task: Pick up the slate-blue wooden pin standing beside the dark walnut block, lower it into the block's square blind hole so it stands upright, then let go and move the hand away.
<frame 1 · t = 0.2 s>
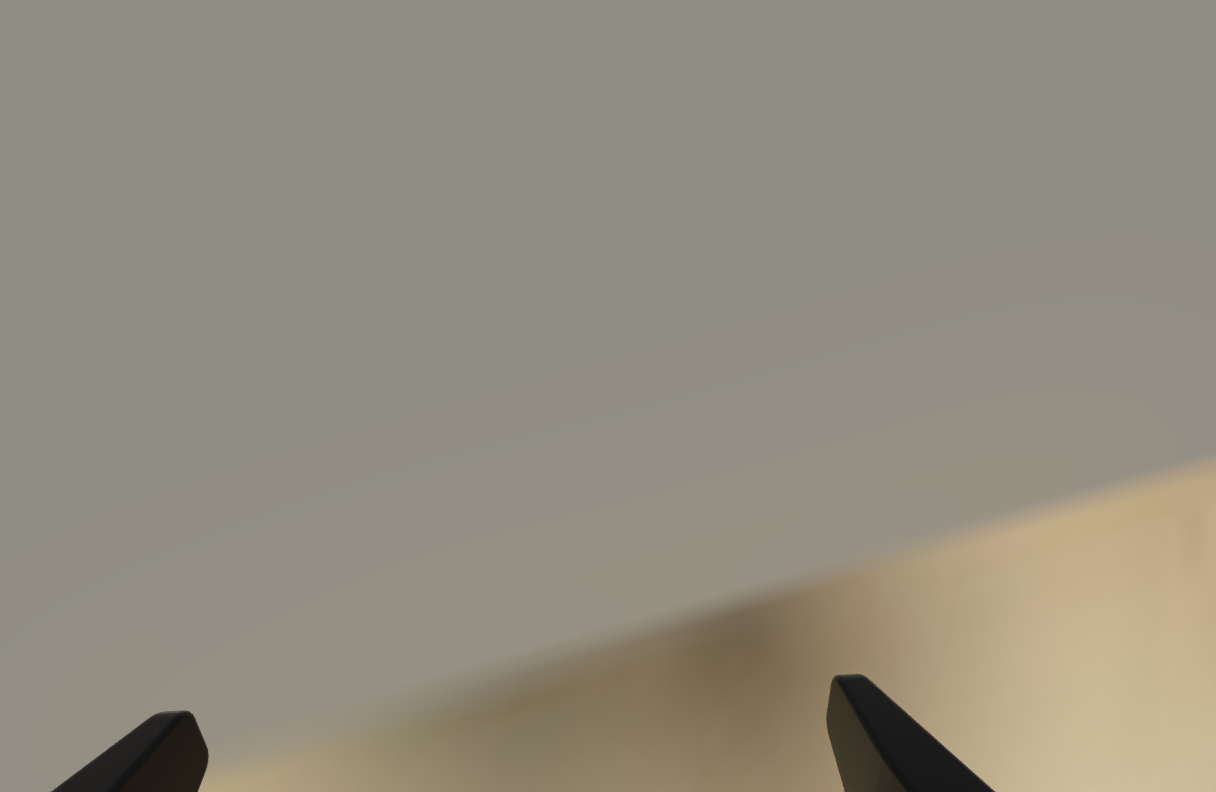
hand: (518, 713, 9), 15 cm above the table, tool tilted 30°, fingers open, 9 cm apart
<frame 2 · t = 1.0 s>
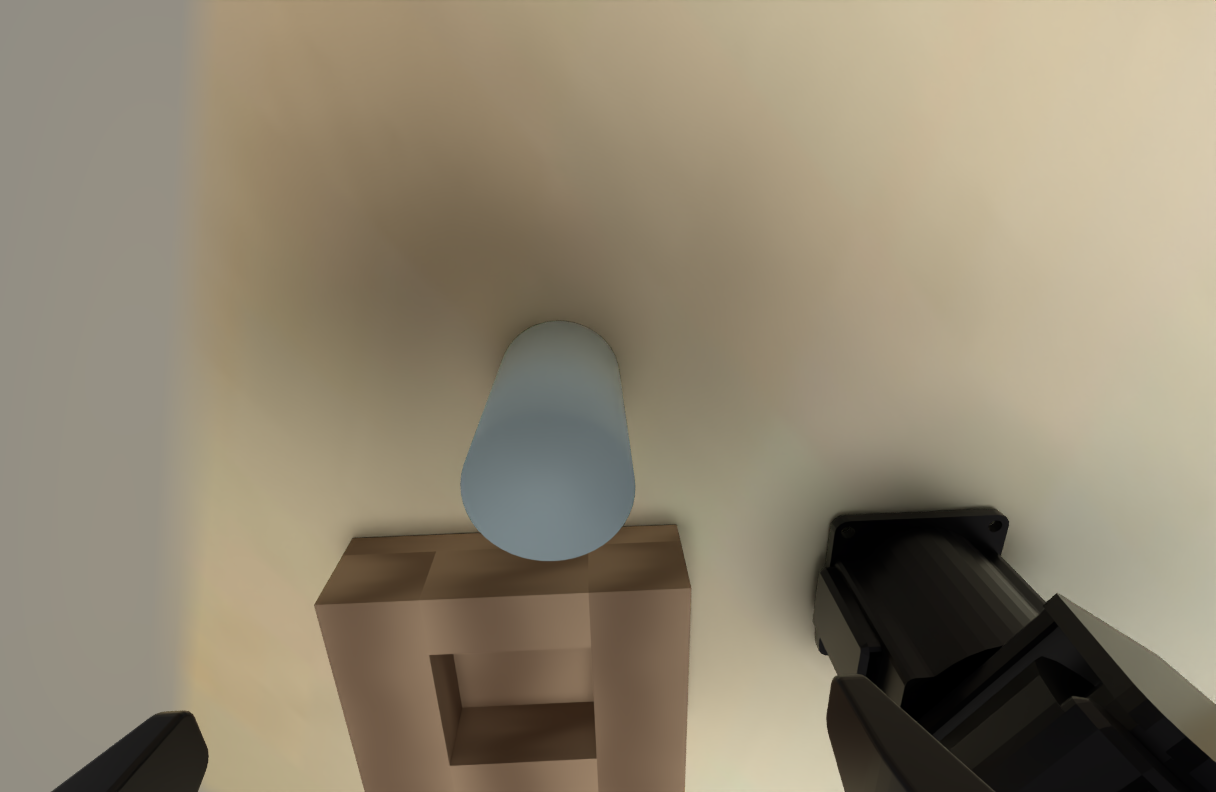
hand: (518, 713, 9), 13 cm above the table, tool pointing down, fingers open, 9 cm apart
socket block: (525, 634, 25), on the table
pin: (559, 378, 21), on the table
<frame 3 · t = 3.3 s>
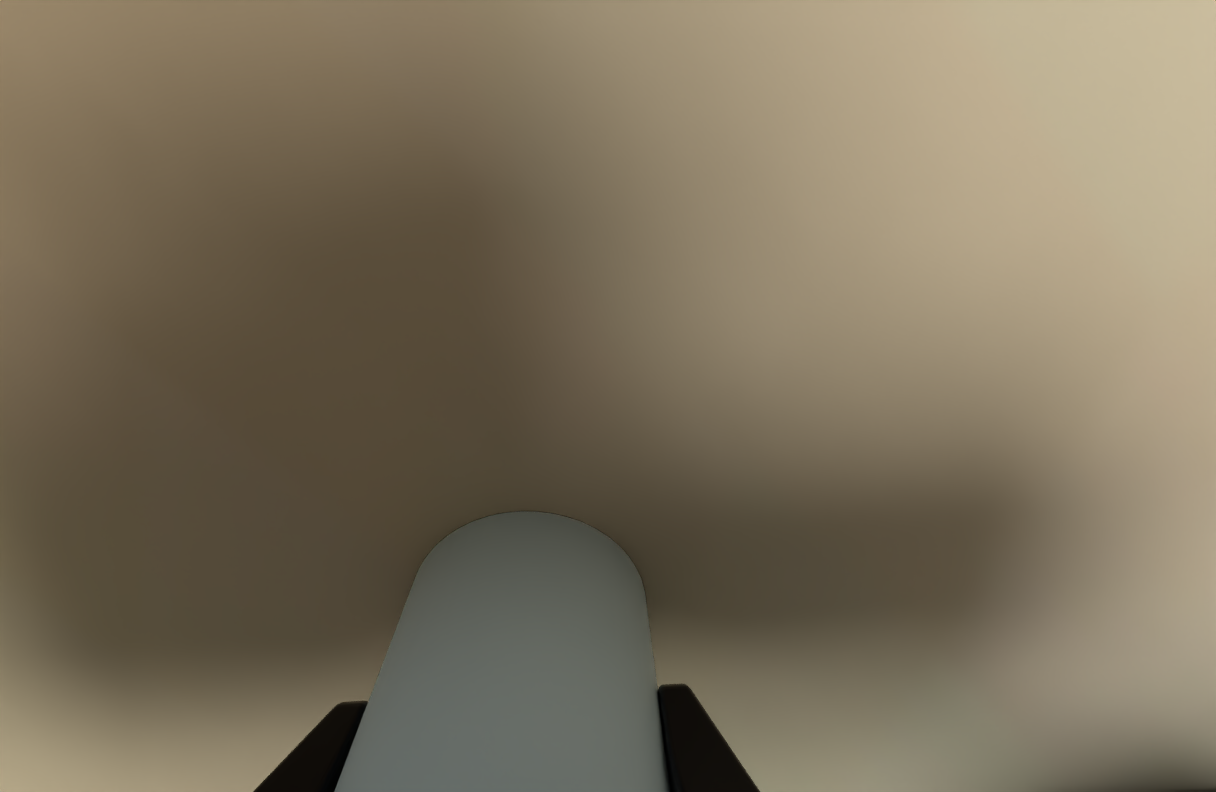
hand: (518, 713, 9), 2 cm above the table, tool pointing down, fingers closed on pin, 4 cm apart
pin: (529, 609, 11), on the table, touching gripper
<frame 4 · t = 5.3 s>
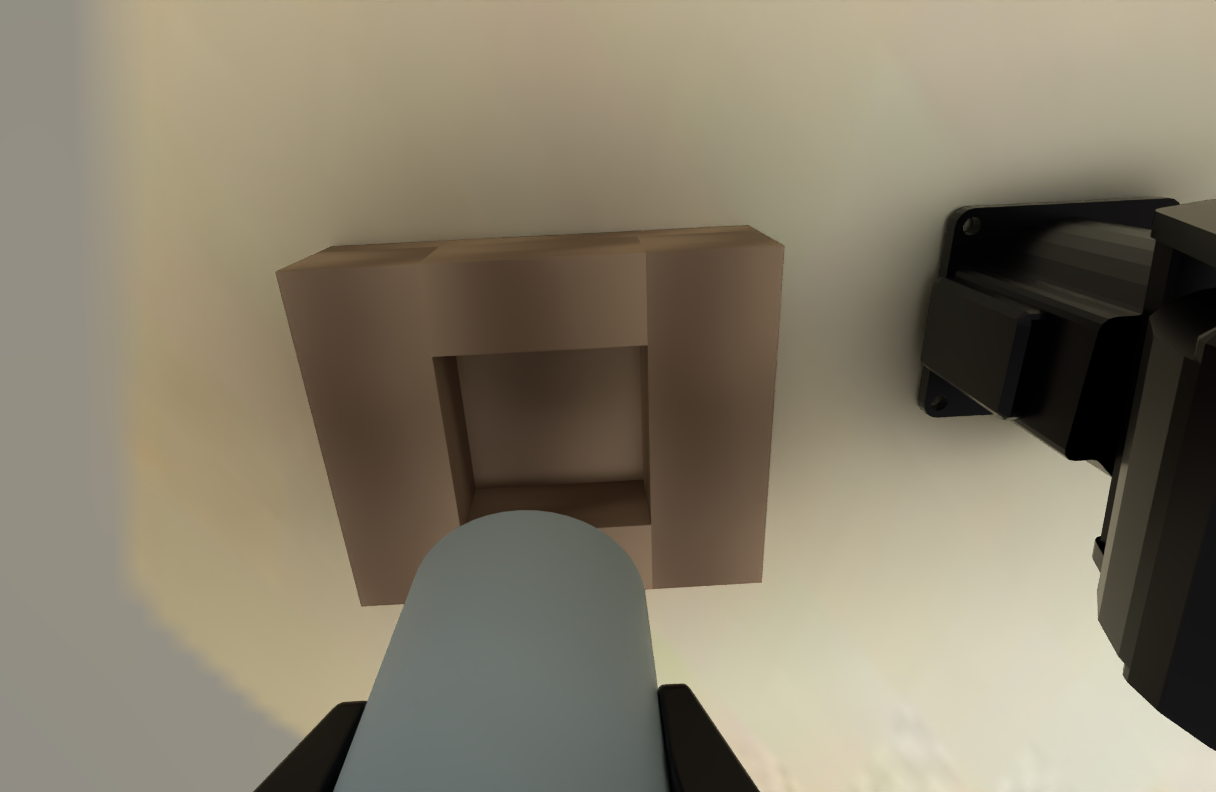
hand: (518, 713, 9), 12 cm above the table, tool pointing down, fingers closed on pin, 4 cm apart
socket block: (554, 395, 20), on the table
pin: (529, 608, 11), point 10 cm above the table, touching gripper
when the fingers open (4 cm above the table, at t = 7.4 s): pin stays where it is, resting on socket block.
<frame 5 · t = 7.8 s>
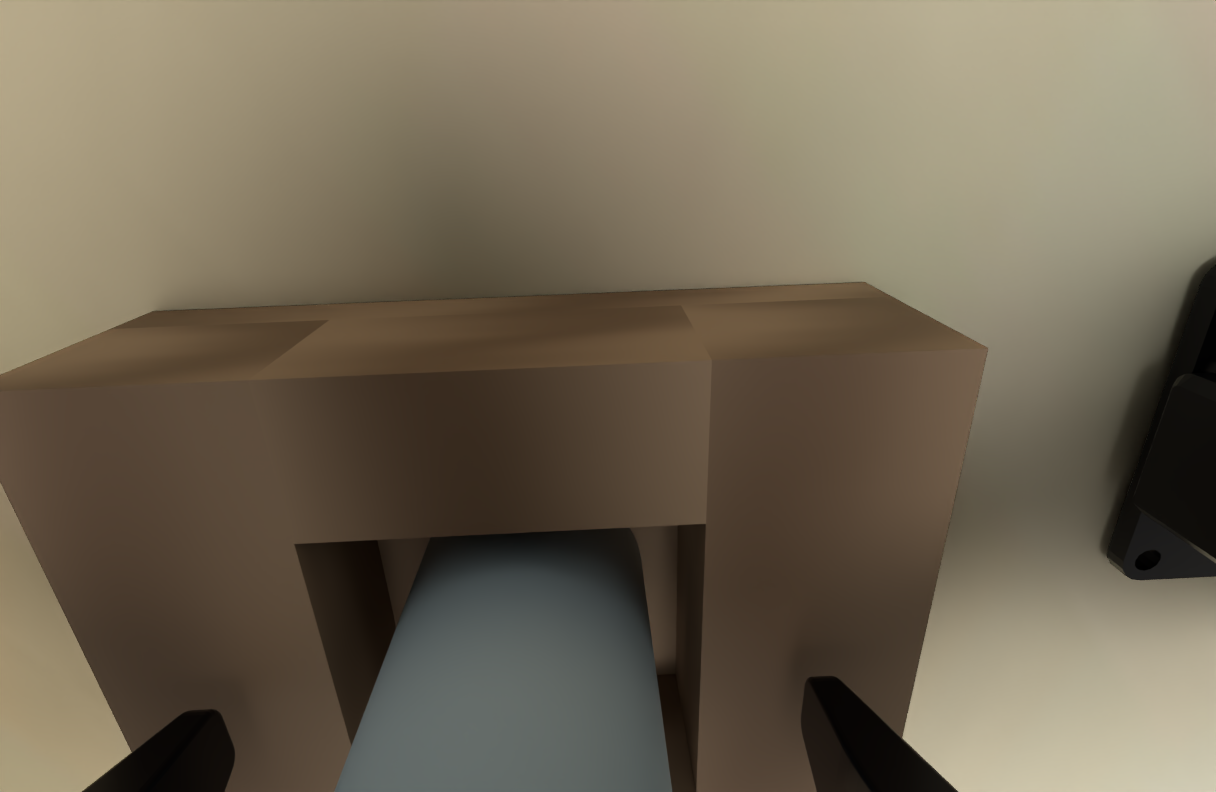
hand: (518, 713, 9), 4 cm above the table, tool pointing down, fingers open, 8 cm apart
socket block: (536, 541, 12), on the table
pin: (534, 572, 11), point 1 cm above the table, touching socket block
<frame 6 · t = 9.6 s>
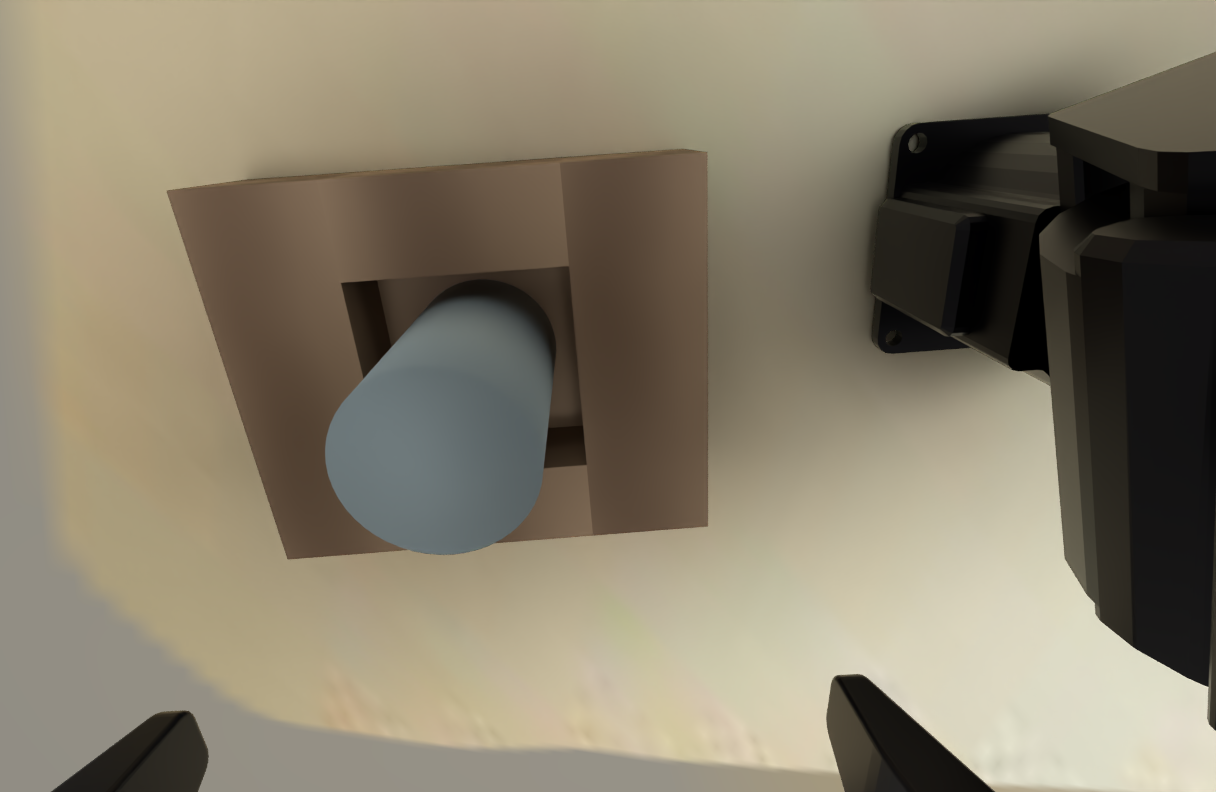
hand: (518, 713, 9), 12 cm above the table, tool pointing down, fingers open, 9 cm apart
socket block: (490, 338, 19), on the table
pin: (487, 347, 18), point 1 cm above the table, touching socket block
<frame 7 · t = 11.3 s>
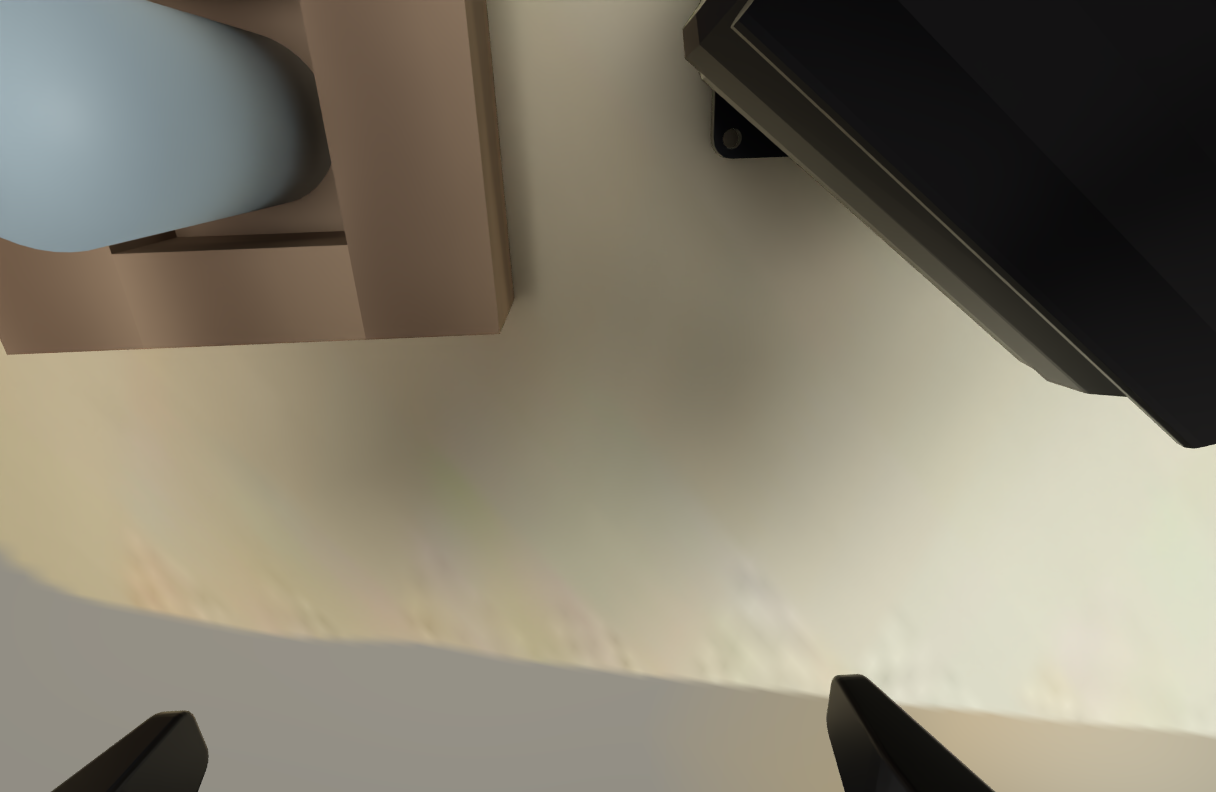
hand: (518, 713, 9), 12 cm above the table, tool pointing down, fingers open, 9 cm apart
socket block: (271, 124, 16), on the table
pin: (254, 122, 16), point 1 cm above the table, touching socket block
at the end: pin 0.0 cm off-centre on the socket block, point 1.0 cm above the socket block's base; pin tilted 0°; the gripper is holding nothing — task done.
